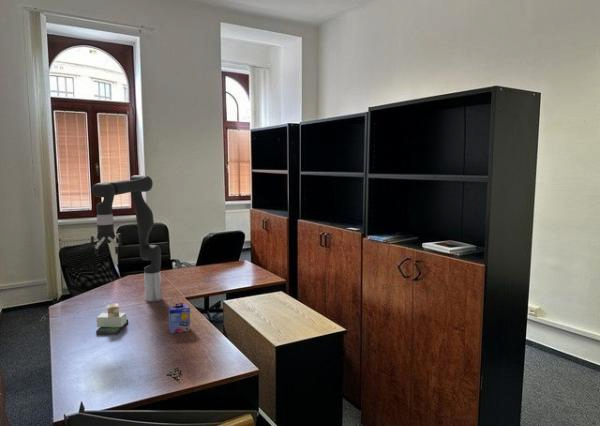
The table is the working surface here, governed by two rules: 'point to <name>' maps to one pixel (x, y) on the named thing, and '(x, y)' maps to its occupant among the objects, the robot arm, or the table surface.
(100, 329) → the disk drive
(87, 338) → the table surface
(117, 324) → the sage plank
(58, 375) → the table surface
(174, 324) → the ink cartridge box
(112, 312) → the maple block
